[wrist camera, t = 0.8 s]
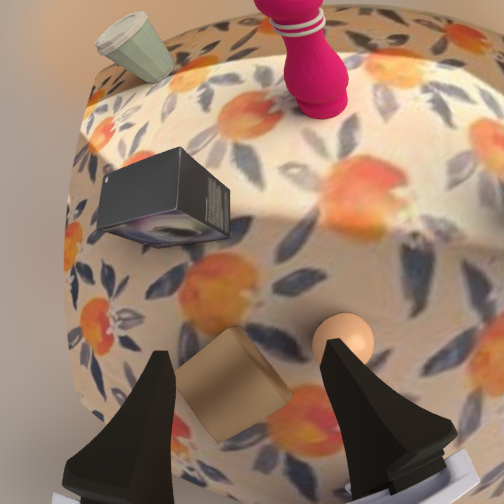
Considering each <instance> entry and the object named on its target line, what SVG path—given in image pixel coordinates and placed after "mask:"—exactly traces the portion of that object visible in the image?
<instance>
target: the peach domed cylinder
mask: <svg viewBox="0 0 504 504" xmlns="http://www.w3.org/2000/svg"><path fill="white" fill-rule="evenodd" d="M334 338H340V339H341V340H342V341H343V342H344V343H345V344H346V345H347V346H348V347H349V349H350V350H351V351H352V352H353V353H354V354H355V355H356V356H357V357H358V358H359V359H360V360H361V361H362V362H363V363H364V364H366V363H367V362H368V360H369V359H370V357H371V355H372V352H373V347H374V338H373V334H372V331H371V329H370V327H369V326H368V325H367V323H366V322H365V321H364V320H363V319H362V318H361V317H360V316H358V315H356V314H353V313H340V314H337V315H334V316H332V317H330V318H328V319H326V320H325V321H324V322H323V323H322V324H321V325H320V326H319V327H318V329H317V330H316V332H315V334H314V337H313V342H312V350H313V354H314V357H315V359H316V361H317V363H318V364H319V365H320V364H321V360H322V357H323V353H324V350H325V346H326V342H327V339H334Z"/></svg>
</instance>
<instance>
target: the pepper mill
mask: <svg viewBox="0 0 504 504" xmlns="http://www.w3.org/2000/svg"><path fill="white" fill-rule="evenodd" d="M254 2H255V5H256V7H257V8H258V10H260V11H261V12H262V13H263V14H264V15H266V16H268V17H270V23H271V25H273V30H274V31H275V32H276V33H277V34H279V35H281V36H282V38H283V40H284V42H285V45H286V49H287V56H286V61H285V67H284V79H285V83H286V86H287V89H288V90H289V92H290V93H291V94H292V95H293V96H294V97H296V100H297V103H298V106H299V108H300V110H301V111H302V112H303V113H304V114H306V115H307V116H310V117H312V118H317V119H326V118H332V117H334V116H336V115H339V114H340V113H341V112H342V111H343V110H344V109H345V108H346V106H347V101H348V98H347V92H346V88H347V85H348V80H349V78H348V73H347V70H346V67H345V65H344V63H343V61H342V60H341V58H340V57H339V56H338V55H337V54H336V52H335V51H334V50H333V49H332V48H331V47H330V45H329V44H328V43H327V41H326V39H325V37H324V34H323V28H322V27H323V26H324V25H325V22H326V20H325V17H324V16H323V15H324V13H323V10H322V9H321V8H320V6H321V5H322V3H323V0H254Z"/></svg>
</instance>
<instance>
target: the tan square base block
mask: <svg viewBox="0 0 504 504" xmlns="http://www.w3.org/2000/svg"><path fill="white" fill-rule="evenodd" d="M174 373H175V376H176V387H177V388H178V390H179V392H180V393H181V395H182V396H183V397H184V399H185V400H186V402H187V403H188V405H189V406H190V408H191V409H192V410H193V412H194V413H195V415H196V416H197V417H198V419H199V420H200V422H201V423H202V424H203V426H204V427H205V428H206V430H207V431H208V432H209V434H210V435H211V436H212V437H213V439H214V440H215V441H216V442H217V444H219V443H221V442H223V441H225V440H227V439H229V438H231V437H233V436H234V435H236V434H238V433H240V432H242V431H243V430H245V429H247V428H249V427H251V426H252V425H254V424H256V423H257V422H259V421H261V420H262V419H264V418H266V417H267V416H269V415H271V414H272V413H274V412H275V411H277V410H279V409H280V408H282V407H283V406H285V405H286V404H287V403H288V402H289V401H290V400H291V398H292V397H293V396H294V394H293V393H292V392H291V390H290V389H289V388H288V387H287V385H286V384H285V383H284V382H283V380H282V379H281V378H280V377H279V375H278V374H277V373H276V372H275V370H274V369H273V368H272V366H271V365H270V364H269V363H268V361H267V360H266V359H265V357H264V356H263V355H262V354H261V352H260V351H259V350H258V348H257V347H256V346H255V344H254V343H253V342H252V341H251V339H250V338H249V337H248V335H247V334H246V333H245V331H244V330H243V329H242V327H241V326H238V327H229V328H227V329H226V330H225V331H223V332H222V333H221V334H220V335H219V336H217V337H216V338H215V339H214V340H213V341H211V342H210V343H209V344H208V345H207V346H205V347H204V348H203V349H202V350H200V351H199V352H198V353H197V354H196V355H194V356H193V357H192V358H191V359H189V360H188V361H187V362H186V363H184V364H183V365H182V366H181V367H179V368H178V369H177V370H176V371H174Z"/></svg>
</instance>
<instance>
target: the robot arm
mask: <svg viewBox="0 0 504 504" xmlns="http://www.w3.org/2000/svg"><path fill="white" fill-rule="evenodd" d="M320 370H321V375H322V379H323V383H324V387H325V389H326V392H327V395H328V397H329V400H330V402H331V405H332V408H333V410H334V413H335V416H336V418H337V421H338V424H339V427H340V430H341V434H342V439H343V443H344V447H345V452H346V457H347V463H348V469H349V476H350V482H349V483H347V484H346V485H345V490H346V491H347V492H349V493H350V494H351V495H352V499H353V501H352V502H348V503H345V504H451V503H452V502H454V501H455V500H457V499H458V498H459V497H461V496H462V495H463V494H465V493H466V492H467V491H469V490H470V489H472V488H473V487H474V486H476V485H477V484H478V483H479V482H480V479H479V477H478V475H477V473H476V470H475V468H474V466H473V464H472V462H471V460H470V457H469V455H468V453H467V451H466V449H465V448H462V449H460V450H459V451H457V452H456V453H454V454H452V455H451V456H449V457H447V458H446V459H443V457H442V456H443V455H444V451H443V448H444V447H446V446H447V445H448V444H449V443H450V442H451V441H453V440H454V439H455V438H456V437H457V434H458V433H457V431H456V429H455V427H454V425H453V423H452V422H451V420H449V419H446V418H444V417H441V416H439V415H436V414H434V413H431V412H429V411H427V410H425V409H423V408H421V407H419V406H418V405H416V404H414V403H412V402H411V401H409V400H407V399H406V398H404V397H403V396H401V395H400V394H398V393H397V392H396V391H394V390H393V389H392V388H390V387H389V386H388V385H387V384H385V383H384V382H383V381H382V380H381V379H380V378H378V377H377V376H376V375H375V374H374V373H373V372H372V371H371V370H370V369H369V368H368V367H367V366H366V365H365V364H364V363H363V362H362V361H361V360H360V359H359V358H358V357H357V356H356V355H355V354H354V353H353V352H352V351H351V350H350V349H349V347H348V346H347V345H346V344H345V343H344V342H343V341H342V340H341V339H340V338H334V339H327V342H326V346H325V350H324V353H323V357H322V360H321V364H320ZM175 399H176V376H175V373H174V370H173V367H172V364H171V360H170V357H169V354H168V351H154V352H153V353H152V355H151V357H150V359H149V361H148V363H147V365H146V367H145V369H144V371H143V373H142V374H141V376H140V378H139V380H138V381H137V383H136V385H135V387H134V388H133V390H132V391H131V393H130V394H129V396H128V398H127V399H126V401H125V402H124V404H123V405H122V406H121V408H120V409H119V411H118V412H117V413H116V414H115V416H114V417H113V418H112V419H111V421H110V422H109V423H108V424H107V425H106V426H105V428H104V429H103V430H102V431H101V432H100V433H99V434H98V435H97V436H96V437H95V438H94V439H93V440H92V441H91V442H90V443H89V444H87V445H86V446H85V447H84V448H83V449H82V450H80V451H79V452H78V453H77V454H75V455H74V456H73V457H71V458H70V459H69V460H67V462H66V465H65V469H64V474H63V480H62V485H63V487H64V488H66V489H68V490H70V491H71V492H73V493H75V494H77V495H79V496H81V501H79V500H76V499H73V498H70V497H67V496H64V495H62V494H59V493H56V492H53V498H52V504H174V497H173V487H172V475H171V446H170V445H171V432H172V423H173V415H174V407H175ZM350 489H351V490H350Z"/></svg>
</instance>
